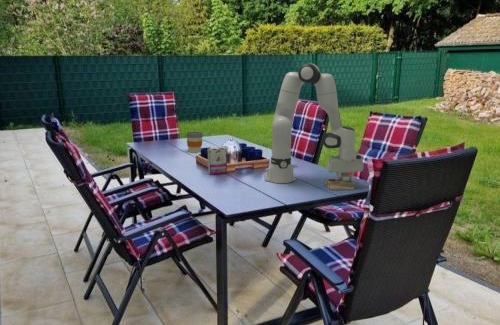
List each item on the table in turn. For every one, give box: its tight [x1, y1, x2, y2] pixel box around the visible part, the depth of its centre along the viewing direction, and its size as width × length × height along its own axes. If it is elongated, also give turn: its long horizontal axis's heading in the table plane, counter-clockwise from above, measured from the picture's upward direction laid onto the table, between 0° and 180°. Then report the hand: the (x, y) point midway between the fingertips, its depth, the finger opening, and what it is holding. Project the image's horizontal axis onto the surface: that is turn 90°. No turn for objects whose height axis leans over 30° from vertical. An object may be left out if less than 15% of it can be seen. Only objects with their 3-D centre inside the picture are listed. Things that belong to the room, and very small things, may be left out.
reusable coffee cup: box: [185, 131, 204, 154], centre depth 339 cm, size 13×13×15 cm
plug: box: [340, 172, 351, 181], centre depth 247 cm, size 4×4×8 cm
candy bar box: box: [207, 146, 228, 176], centre depth 273 cm, size 11×5×16 cm, turn 112°
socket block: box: [324, 178, 356, 191], centre depth 246 cm, size 9×14×4 cm, turn 101°
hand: (344, 179), depth 247 cm, fingers open, 5 cm apart
